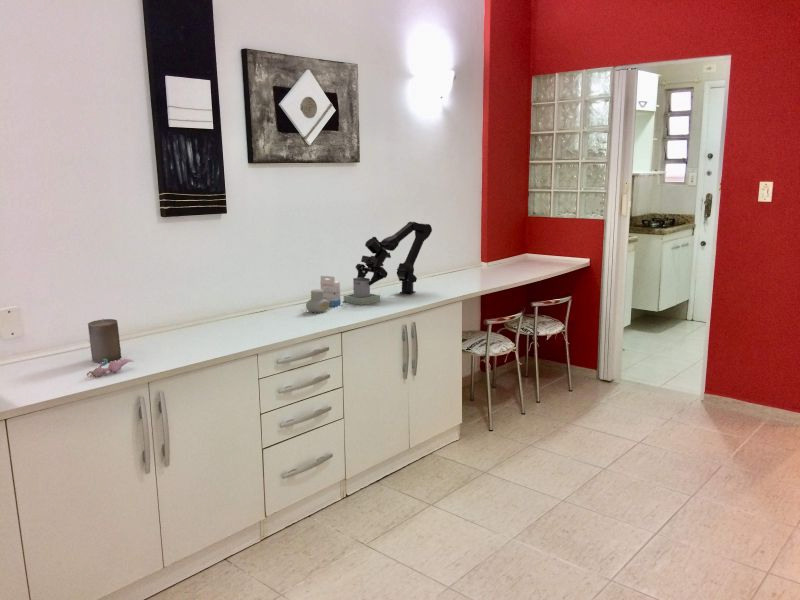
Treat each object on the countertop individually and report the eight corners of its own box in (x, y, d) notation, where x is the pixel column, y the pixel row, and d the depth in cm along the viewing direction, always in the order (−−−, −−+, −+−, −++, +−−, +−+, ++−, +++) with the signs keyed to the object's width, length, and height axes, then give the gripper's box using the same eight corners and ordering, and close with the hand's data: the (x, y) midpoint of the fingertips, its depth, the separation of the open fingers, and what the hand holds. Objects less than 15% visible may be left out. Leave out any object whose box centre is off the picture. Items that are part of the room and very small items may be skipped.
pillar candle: (124, 354, 242) (120, 314, 239) (117, 362, 233) (113, 320, 230) (96, 356, 241) (91, 316, 238) (88, 364, 232) (83, 322, 229)
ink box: (341, 305, 325) (340, 275, 322) (335, 307, 320) (334, 276, 317) (326, 303, 329) (325, 274, 326) (320, 305, 324) (319, 275, 321)
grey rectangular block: (361, 298, 337) (360, 277, 335) (370, 300, 332) (369, 278, 330) (352, 300, 333) (351, 278, 330) (360, 302, 328) (360, 280, 326)
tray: (362, 297, 342) (362, 291, 341) (380, 301, 333) (380, 295, 332) (343, 301, 333) (343, 295, 332) (360, 305, 324) (360, 299, 323)
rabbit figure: (94, 384, 214) (138, 367, 224) (89, 367, 213) (133, 350, 222) (86, 380, 219) (130, 363, 229) (81, 363, 217) (125, 347, 227)
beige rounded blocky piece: (317, 314, 304) (316, 293, 302) (303, 312, 309) (302, 291, 307) (332, 310, 313) (331, 289, 311) (318, 308, 318) (317, 287, 316)
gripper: (357, 247, 338) (341, 272, 333) (382, 251, 326) (366, 276, 320) (369, 261, 346) (354, 285, 340) (394, 265, 333) (379, 289, 327)
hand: (362, 283), depth 332 cm, fingers open, 9 cm apart
